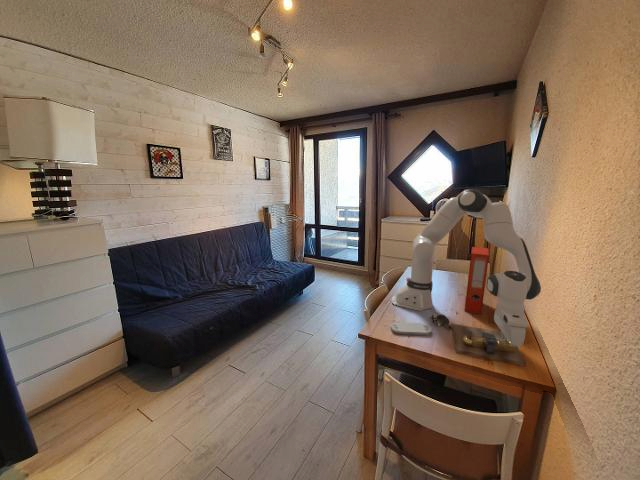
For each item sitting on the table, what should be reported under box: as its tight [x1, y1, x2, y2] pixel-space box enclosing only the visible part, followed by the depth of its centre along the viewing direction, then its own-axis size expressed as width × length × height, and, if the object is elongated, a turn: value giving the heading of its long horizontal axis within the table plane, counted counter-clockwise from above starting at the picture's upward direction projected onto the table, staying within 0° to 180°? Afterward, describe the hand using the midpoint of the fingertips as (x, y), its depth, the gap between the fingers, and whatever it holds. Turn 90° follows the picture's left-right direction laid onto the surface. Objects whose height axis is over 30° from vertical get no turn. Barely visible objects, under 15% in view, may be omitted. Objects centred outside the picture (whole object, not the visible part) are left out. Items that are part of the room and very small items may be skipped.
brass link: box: [463, 331, 516, 352], centre depth 107 cm, size 18×4×5 cm, turn 73°
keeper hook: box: [482, 332, 498, 355], centre depth 106 cm, size 4×7×5 cm, turn 158°
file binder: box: [464, 246, 490, 315], centre depth 144 cm, size 8×17×32 cm, turn 149°
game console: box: [390, 322, 432, 336], centre depth 123 cm, size 18×2×8 cm
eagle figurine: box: [429, 312, 452, 330], centre depth 127 cm, size 8×7×9 cm
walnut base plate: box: [451, 323, 526, 367], centre depth 112 cm, size 23×22×2 cm
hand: (505, 343), depth 108 cm, fingers closed
